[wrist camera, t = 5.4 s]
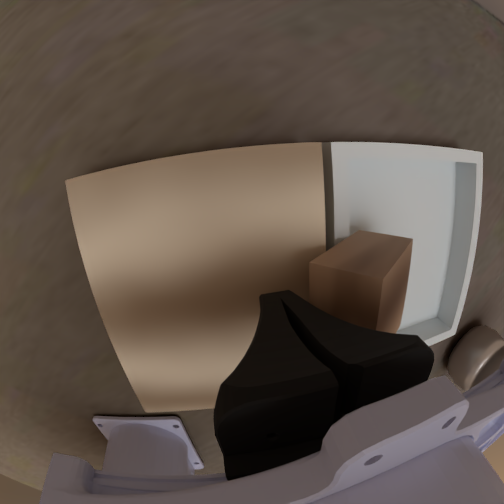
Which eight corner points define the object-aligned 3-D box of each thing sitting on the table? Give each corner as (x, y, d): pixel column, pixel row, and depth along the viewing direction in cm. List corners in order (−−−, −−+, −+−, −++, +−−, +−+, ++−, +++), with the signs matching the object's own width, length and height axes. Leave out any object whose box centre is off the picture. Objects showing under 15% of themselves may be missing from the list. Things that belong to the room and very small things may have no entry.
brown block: (353, 312, 16) (400, 325, 14) (308, 360, 12) (365, 383, 10) (358, 229, 14) (413, 238, 12) (309, 262, 11) (382, 279, 9)
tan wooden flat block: (306, 359, 19) (319, 389, 16) (151, 380, 18) (145, 412, 15) (299, 143, 14) (321, 142, 11) (90, 174, 13) (65, 180, 10)
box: (438, 320, 20) (455, 334, 18) (315, 357, 19) (327, 380, 16) (458, 149, 15) (482, 152, 13) (312, 143, 14) (330, 141, 12)
